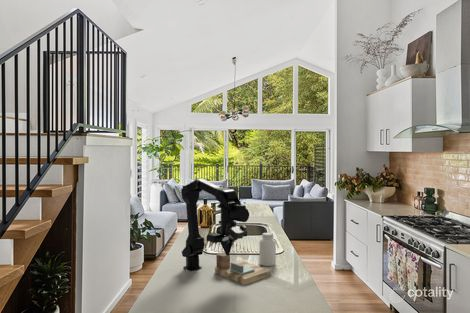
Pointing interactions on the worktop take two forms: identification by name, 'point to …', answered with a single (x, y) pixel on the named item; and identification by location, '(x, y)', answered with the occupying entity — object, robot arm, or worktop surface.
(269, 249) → the pill bottle
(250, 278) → the wooden board with hole
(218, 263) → the block
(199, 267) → the robot arm
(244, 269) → the cover
